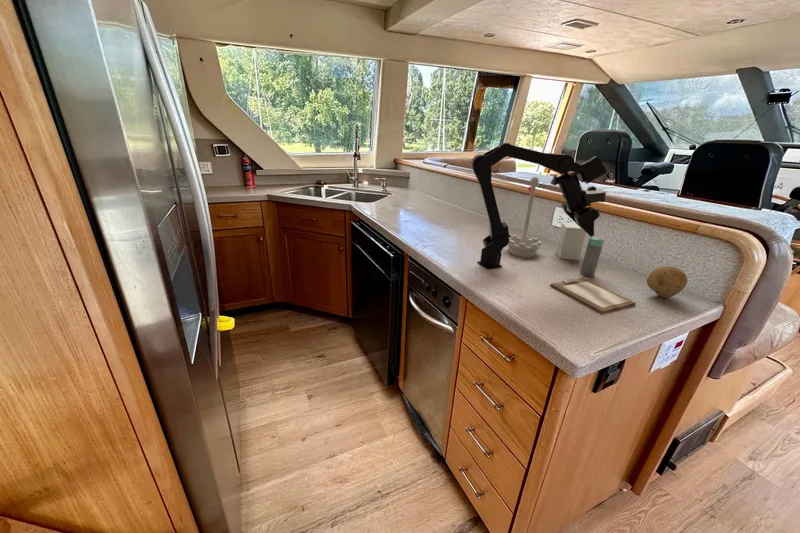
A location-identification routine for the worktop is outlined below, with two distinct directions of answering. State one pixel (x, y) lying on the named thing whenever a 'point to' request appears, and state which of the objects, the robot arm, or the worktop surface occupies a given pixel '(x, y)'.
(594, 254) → the green-topped grey cylinder
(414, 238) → the worktop surface
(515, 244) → the flag stand
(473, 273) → the worktop surface
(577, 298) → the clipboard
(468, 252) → the worktop surface
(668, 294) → the brown potato
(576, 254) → the supplement box
